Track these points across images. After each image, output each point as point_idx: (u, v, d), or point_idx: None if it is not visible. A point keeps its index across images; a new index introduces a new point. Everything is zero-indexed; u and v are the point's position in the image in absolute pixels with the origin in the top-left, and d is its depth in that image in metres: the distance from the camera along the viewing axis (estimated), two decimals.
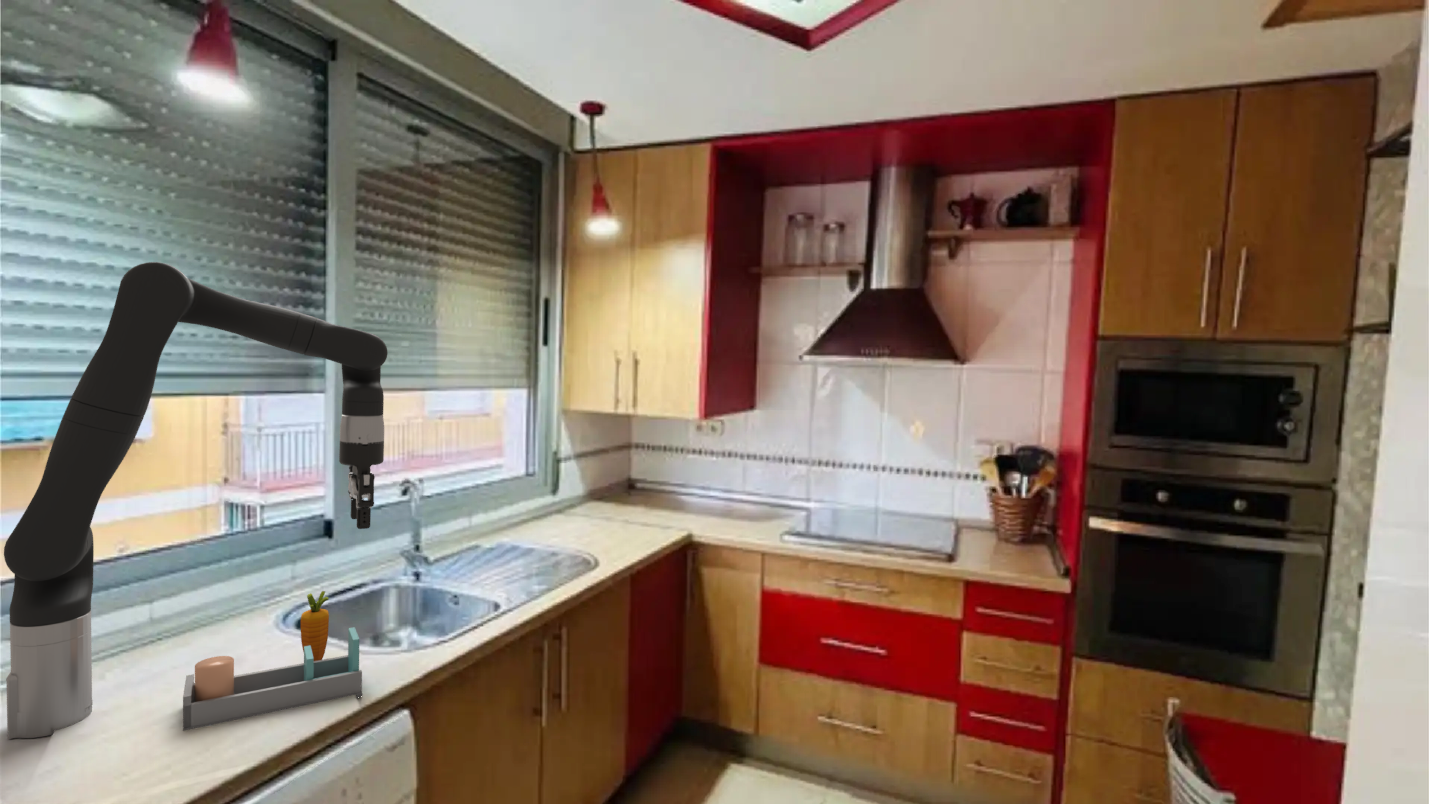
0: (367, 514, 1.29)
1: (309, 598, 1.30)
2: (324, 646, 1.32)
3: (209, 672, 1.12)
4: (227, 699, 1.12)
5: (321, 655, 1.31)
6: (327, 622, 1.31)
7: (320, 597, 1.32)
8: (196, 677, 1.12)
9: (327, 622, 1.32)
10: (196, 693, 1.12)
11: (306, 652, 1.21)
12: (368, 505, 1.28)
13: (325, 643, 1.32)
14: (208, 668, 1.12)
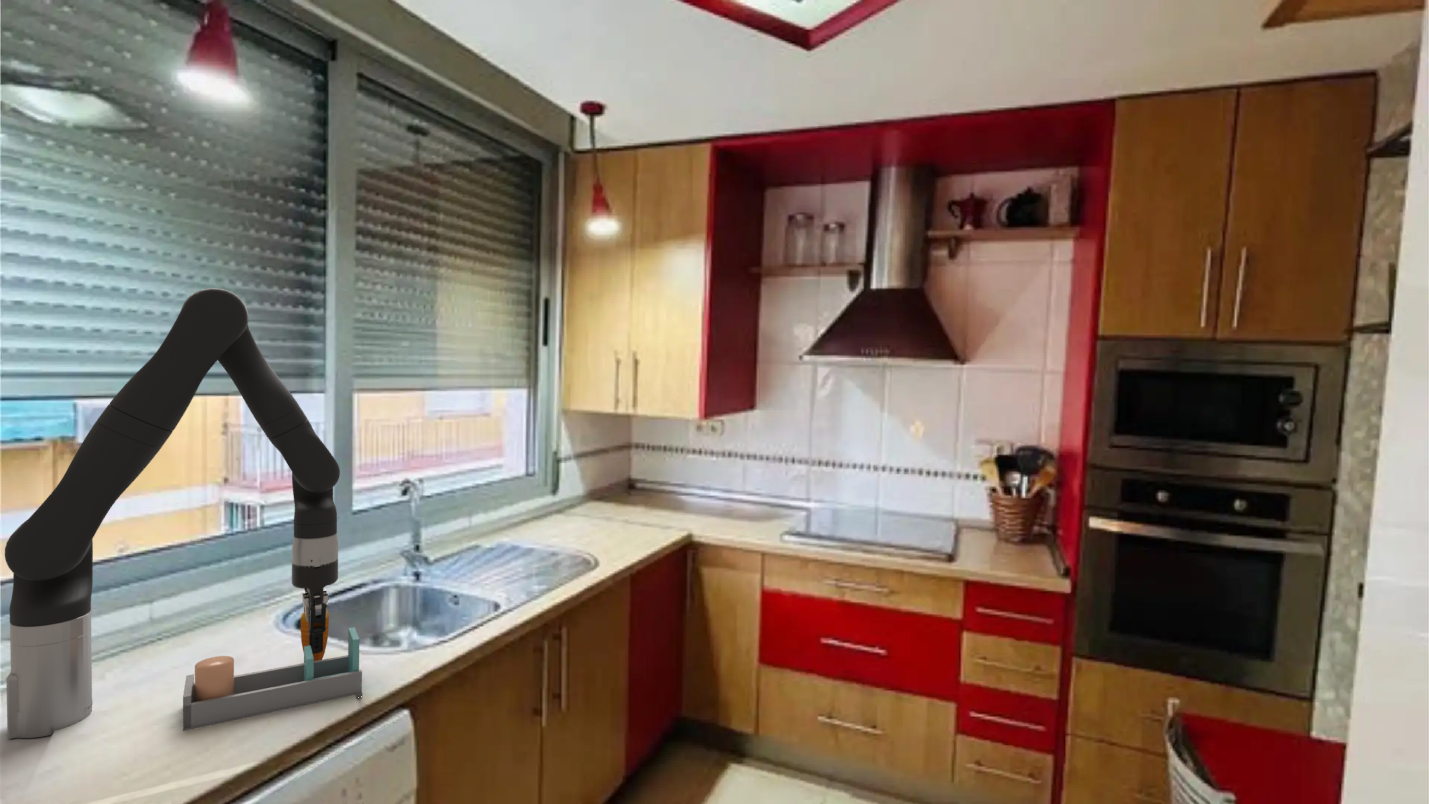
0: (319, 639, 1.29)
1: None
2: (324, 646, 1.32)
3: (209, 672, 1.12)
4: (227, 699, 1.12)
5: (321, 655, 1.31)
6: (327, 622, 1.31)
7: None
8: (196, 677, 1.12)
9: (327, 622, 1.32)
10: (196, 693, 1.12)
11: (306, 652, 1.21)
12: (319, 632, 1.27)
13: (325, 643, 1.32)
14: (208, 668, 1.12)
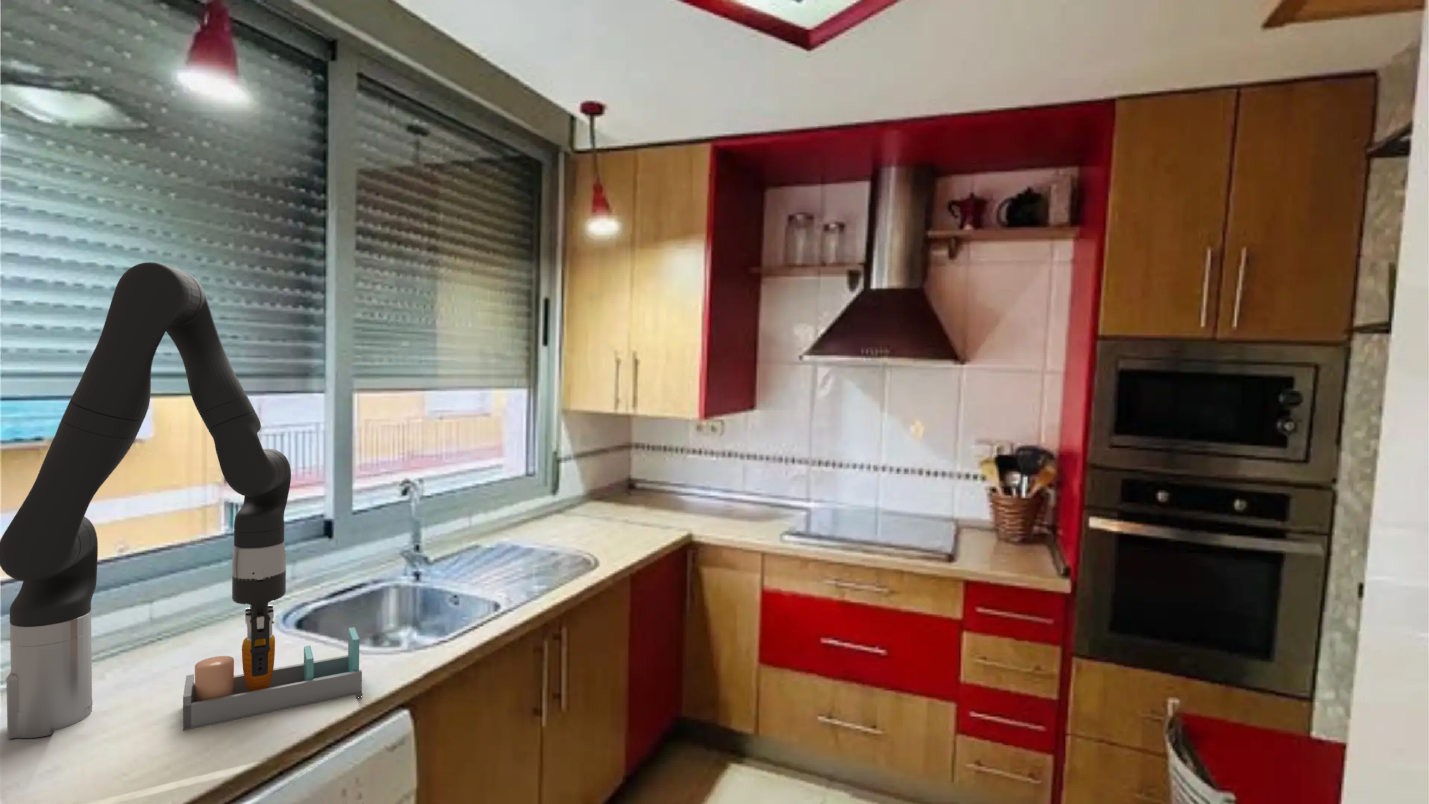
0: (263, 660, 1.13)
1: None
2: (270, 675, 1.17)
3: (209, 672, 1.12)
4: (227, 699, 1.12)
5: (266, 685, 1.17)
6: (272, 648, 1.17)
7: None
8: (196, 677, 1.12)
9: (273, 648, 1.17)
10: (196, 693, 1.12)
11: (306, 652, 1.21)
12: (263, 651, 1.12)
13: (271, 672, 1.18)
14: (208, 668, 1.12)
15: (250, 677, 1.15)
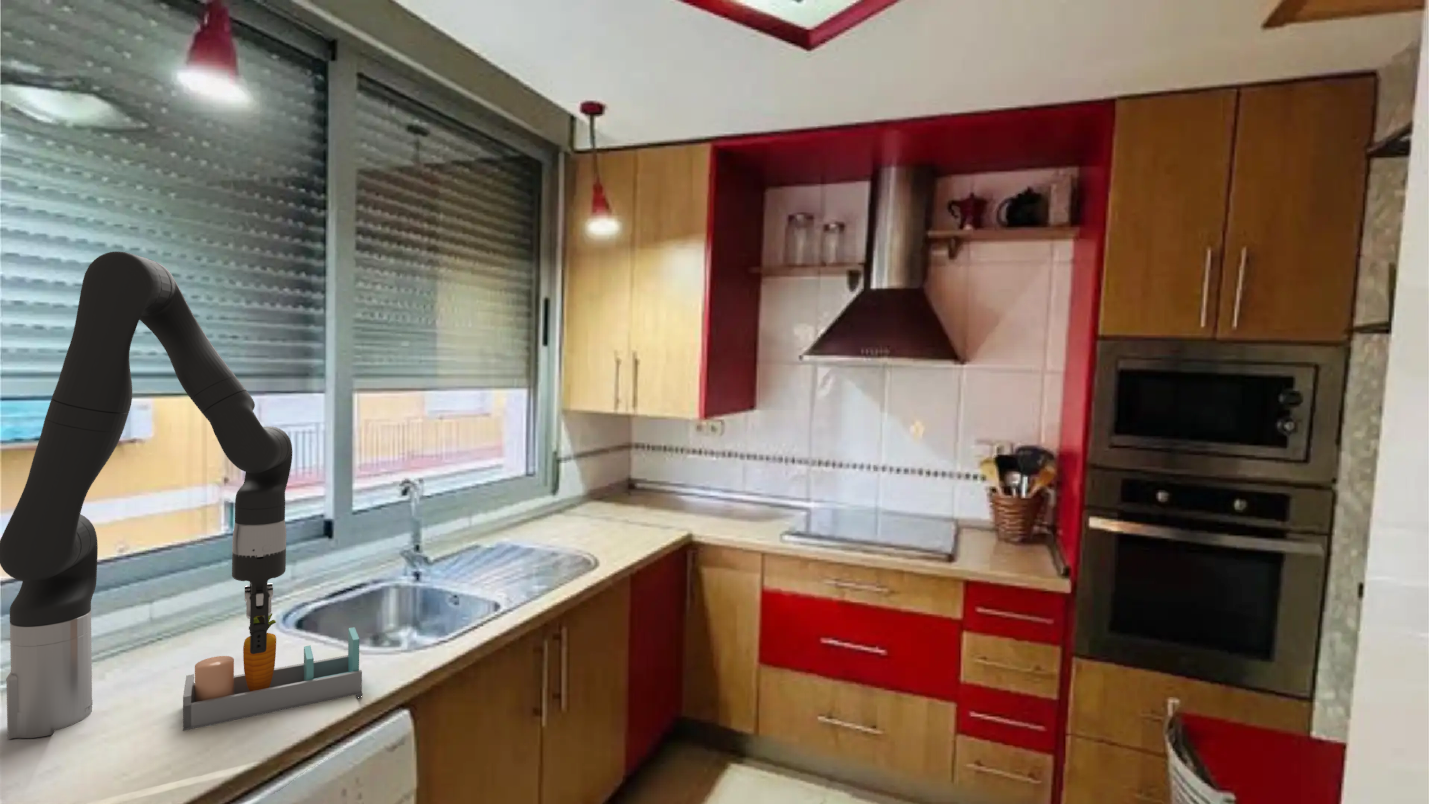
0: (262, 637, 1.13)
1: None
2: (270, 675, 1.18)
3: (209, 672, 1.12)
4: (227, 699, 1.12)
5: (267, 685, 1.17)
6: (274, 648, 1.17)
7: None
8: (196, 677, 1.12)
9: (274, 648, 1.17)
10: (196, 693, 1.12)
11: (306, 652, 1.21)
12: (262, 628, 1.11)
13: (272, 672, 1.18)
14: (208, 668, 1.12)
15: (251, 676, 1.16)
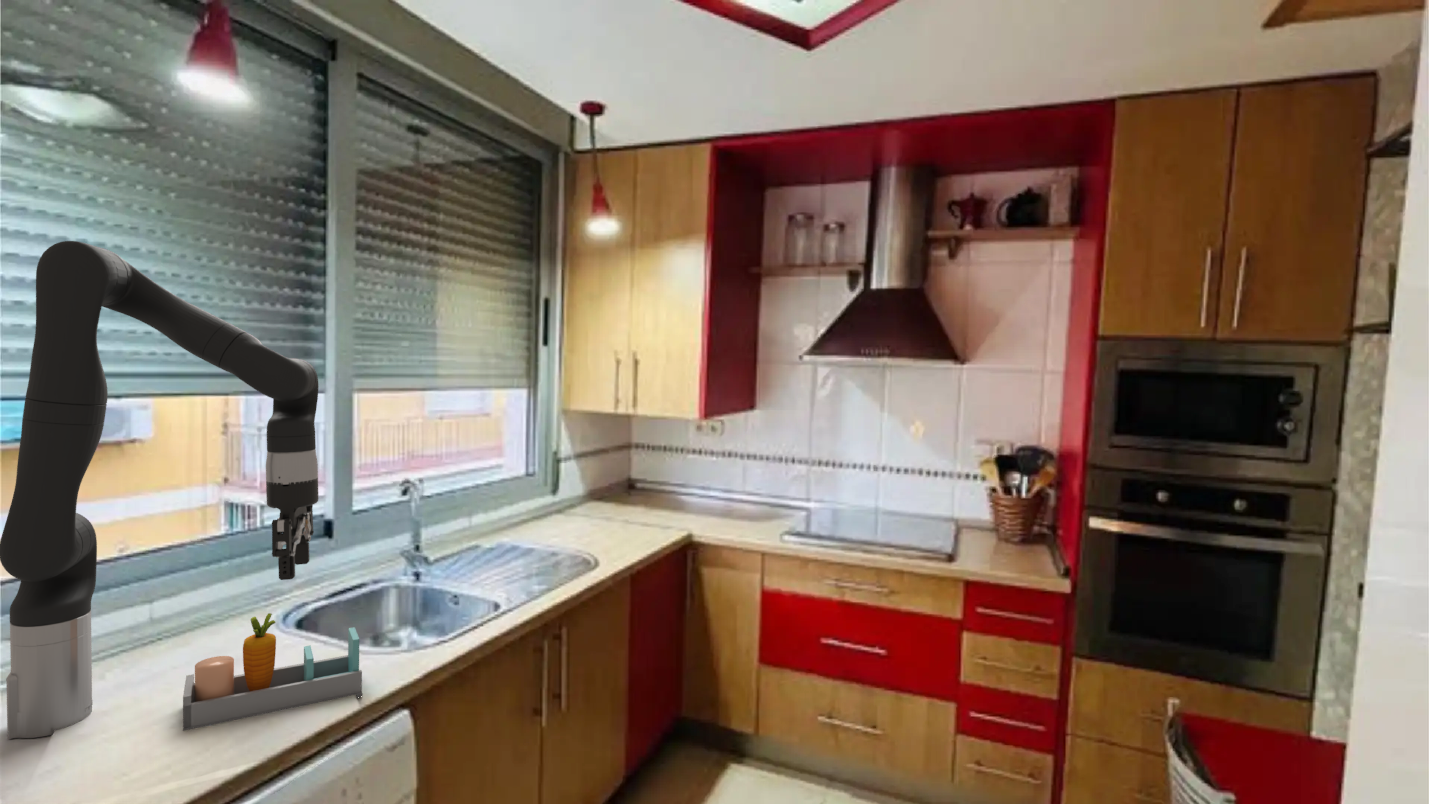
0: (288, 564, 1.14)
1: (253, 622, 1.15)
2: (270, 675, 1.18)
3: (209, 672, 1.12)
4: (227, 699, 1.12)
5: (267, 685, 1.17)
6: (273, 648, 1.17)
7: (266, 620, 1.18)
8: (196, 677, 1.12)
9: (274, 648, 1.17)
10: (196, 693, 1.12)
11: (306, 652, 1.21)
12: (283, 554, 1.12)
13: (271, 672, 1.18)
14: (208, 668, 1.12)
15: (251, 677, 1.16)
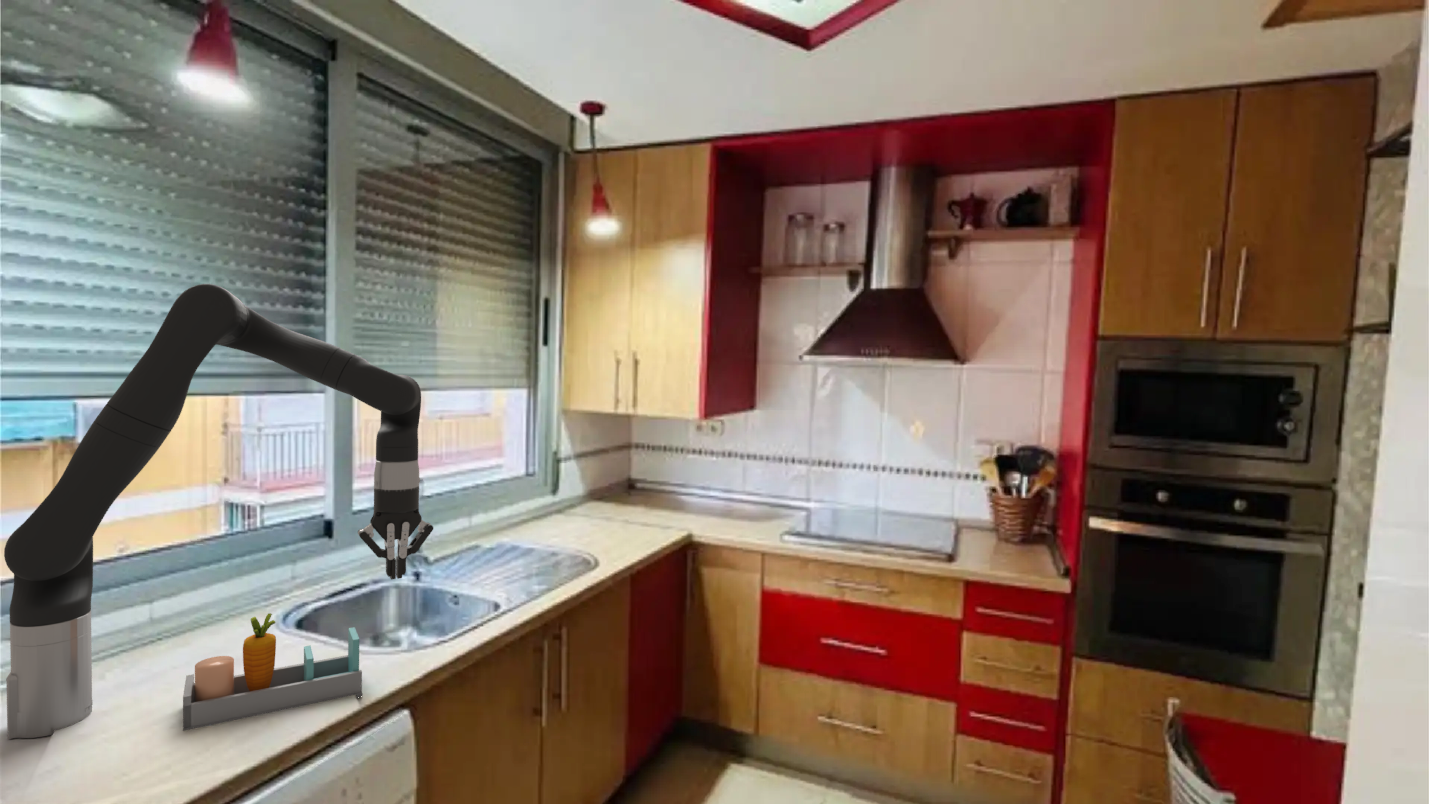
0: (386, 564, 1.27)
1: (253, 622, 1.15)
2: (270, 675, 1.17)
3: (209, 672, 1.12)
4: (227, 699, 1.12)
5: (267, 685, 1.17)
6: (273, 648, 1.17)
7: (266, 620, 1.18)
8: (196, 677, 1.12)
9: (274, 648, 1.17)
10: (196, 693, 1.12)
11: (306, 652, 1.21)
12: None
13: (271, 672, 1.18)
14: (208, 668, 1.12)
15: (251, 677, 1.15)
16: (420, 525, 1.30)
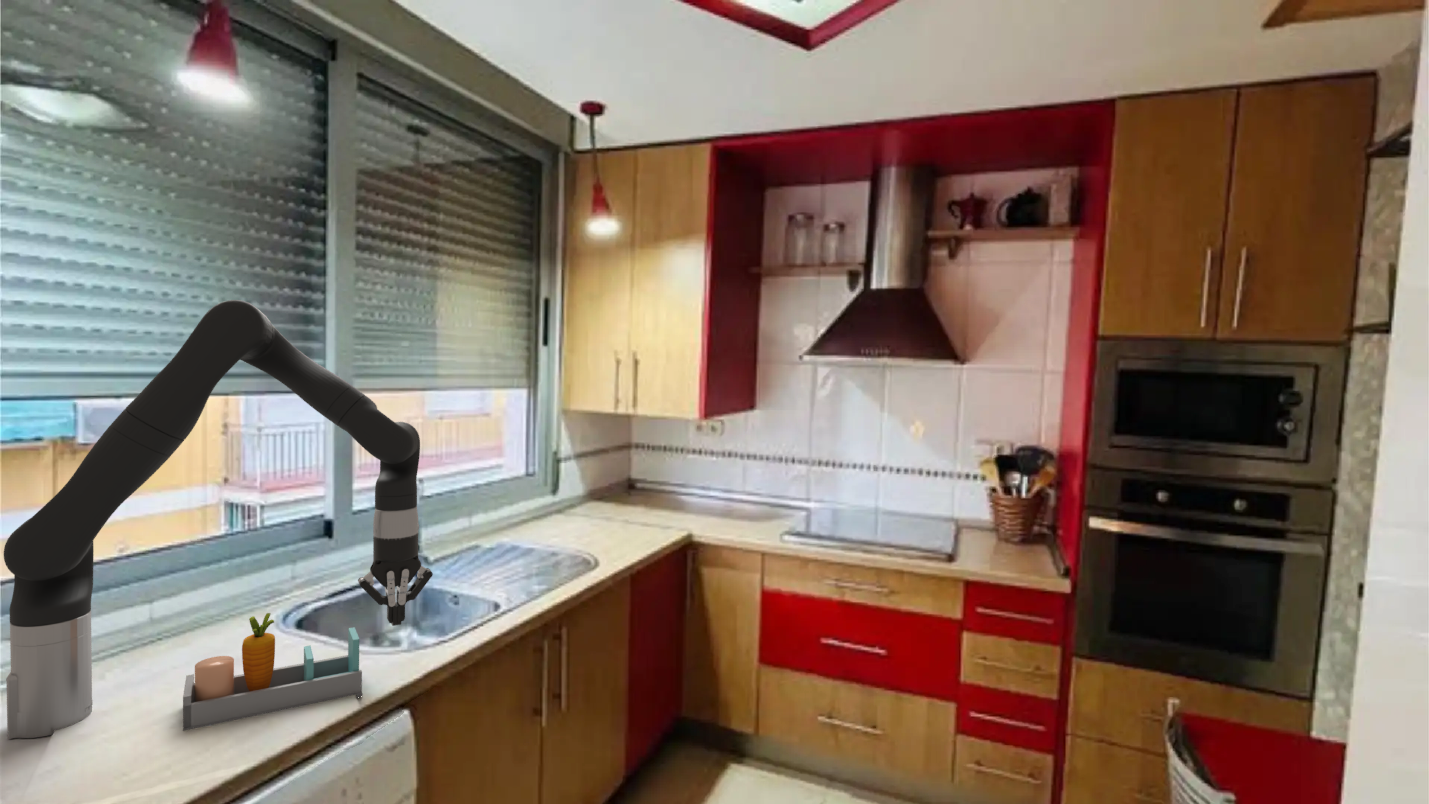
0: (388, 611, 1.28)
1: (252, 622, 1.16)
2: (270, 675, 1.18)
3: (209, 672, 1.12)
4: (227, 699, 1.12)
5: (266, 685, 1.17)
6: (272, 647, 1.17)
7: (265, 620, 1.18)
8: (196, 677, 1.12)
9: (273, 648, 1.17)
10: (196, 693, 1.12)
11: (306, 652, 1.21)
12: None
13: (271, 671, 1.18)
14: (208, 668, 1.12)
15: (250, 676, 1.16)
16: (419, 571, 1.31)
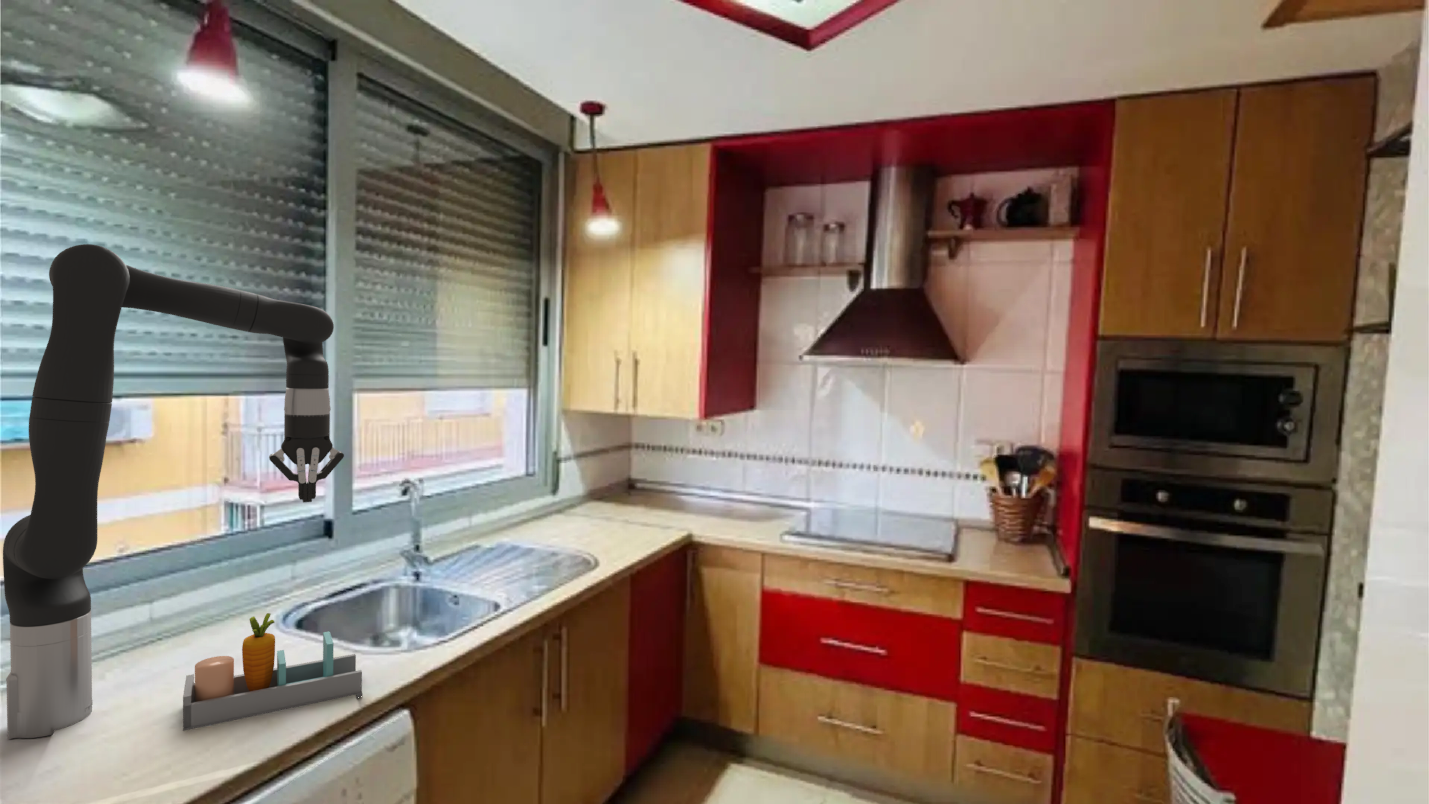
0: (298, 488, 1.33)
1: (252, 622, 1.15)
2: (270, 675, 1.18)
3: (209, 672, 1.12)
4: (227, 699, 1.12)
5: (267, 685, 1.17)
6: (273, 648, 1.17)
7: (265, 620, 1.18)
8: (196, 677, 1.12)
9: (273, 648, 1.17)
10: (196, 693, 1.12)
11: (279, 657, 1.19)
12: None
13: (271, 671, 1.18)
14: (208, 668, 1.12)
15: (250, 677, 1.16)
16: (331, 452, 1.36)
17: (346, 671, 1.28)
